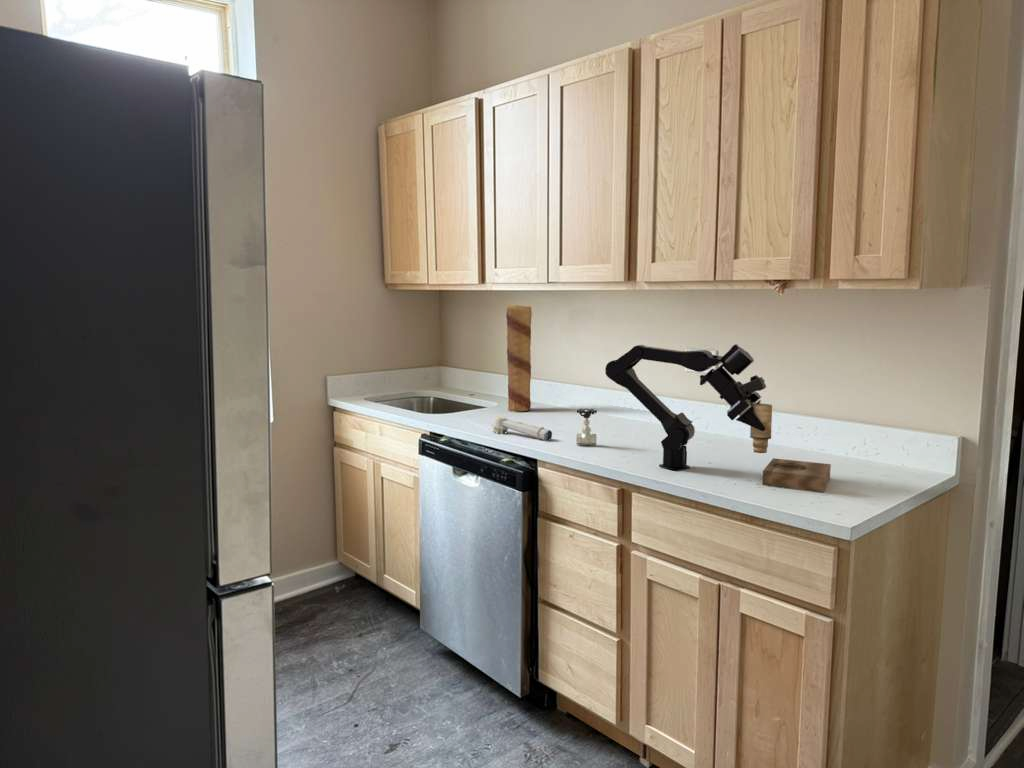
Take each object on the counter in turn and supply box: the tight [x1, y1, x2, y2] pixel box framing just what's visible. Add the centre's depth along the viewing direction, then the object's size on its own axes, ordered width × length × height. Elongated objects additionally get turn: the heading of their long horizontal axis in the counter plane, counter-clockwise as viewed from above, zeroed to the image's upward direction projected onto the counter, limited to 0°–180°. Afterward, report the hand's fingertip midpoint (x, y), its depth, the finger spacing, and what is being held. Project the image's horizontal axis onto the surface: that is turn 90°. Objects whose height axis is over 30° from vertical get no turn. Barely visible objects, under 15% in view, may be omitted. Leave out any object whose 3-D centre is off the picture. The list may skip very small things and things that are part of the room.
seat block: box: [761, 457, 832, 493], centre depth 194 cm, size 15×16×4 cm
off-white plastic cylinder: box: [492, 415, 553, 441], centre depth 256 cm, size 5×7×25 cm
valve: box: [575, 407, 598, 446], centre depth 240 cm, size 7×7×12 cm
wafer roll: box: [505, 305, 533, 413], centre depth 309 cm, size 10×11×45 cm
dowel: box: [749, 403, 773, 454], centre depth 197 cm, size 5×5×13 cm
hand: (766, 428), depth 196 cm, fingers closed on dowel, 5 cm apart
